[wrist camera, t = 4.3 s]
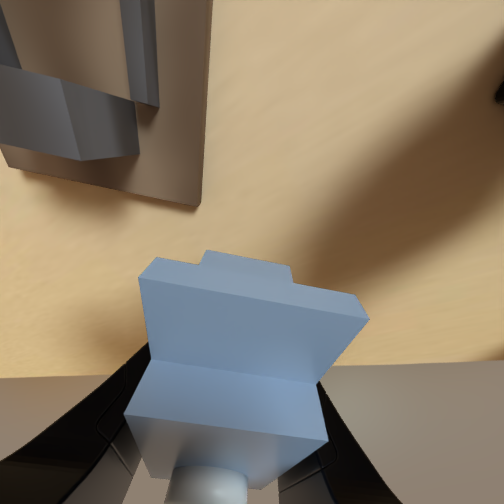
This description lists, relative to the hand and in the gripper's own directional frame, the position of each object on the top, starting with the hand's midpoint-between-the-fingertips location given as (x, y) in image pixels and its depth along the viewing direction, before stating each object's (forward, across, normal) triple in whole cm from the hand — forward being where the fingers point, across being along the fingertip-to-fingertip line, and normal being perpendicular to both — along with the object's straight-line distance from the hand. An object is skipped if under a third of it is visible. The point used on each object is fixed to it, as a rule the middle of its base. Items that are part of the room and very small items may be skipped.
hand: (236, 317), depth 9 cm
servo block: (+1, 0, 0) cm, 1 cm away
